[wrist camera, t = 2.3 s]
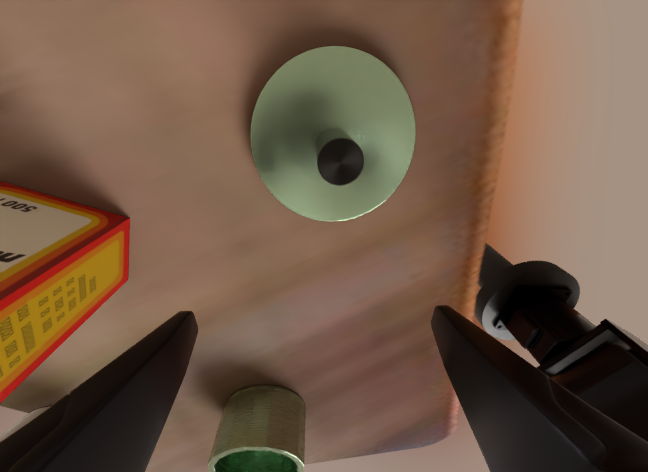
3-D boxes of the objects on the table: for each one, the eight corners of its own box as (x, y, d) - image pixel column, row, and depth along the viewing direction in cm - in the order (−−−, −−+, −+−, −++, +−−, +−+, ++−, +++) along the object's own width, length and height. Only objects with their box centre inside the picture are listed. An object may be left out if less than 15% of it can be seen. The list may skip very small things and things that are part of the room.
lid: (430, 60, 16) (489, 40, 11) (391, 221, 21) (417, 261, 16) (250, 37, 15) (216, 2, 10) (255, 210, 20) (235, 250, 15)
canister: (307, 385, 32) (306, 447, 26) (302, 429, 36) (300, 489, 31) (222, 383, 31) (202, 447, 25) (229, 428, 36) (213, 489, 30)
